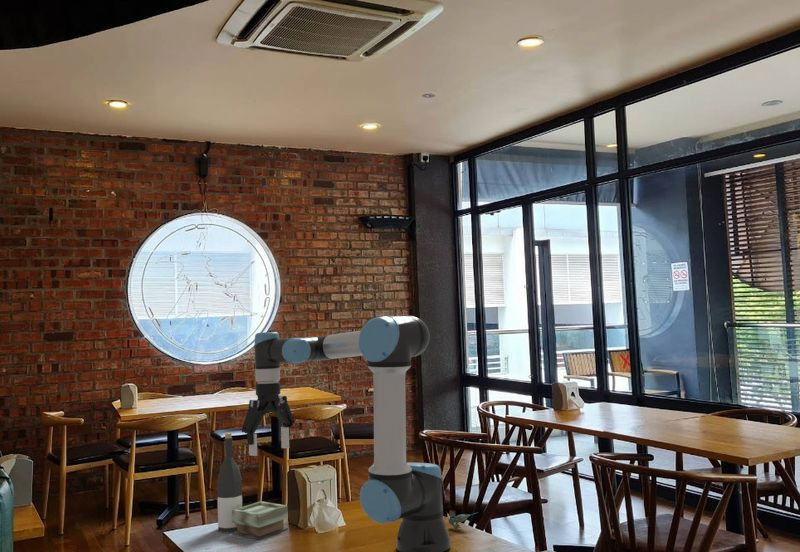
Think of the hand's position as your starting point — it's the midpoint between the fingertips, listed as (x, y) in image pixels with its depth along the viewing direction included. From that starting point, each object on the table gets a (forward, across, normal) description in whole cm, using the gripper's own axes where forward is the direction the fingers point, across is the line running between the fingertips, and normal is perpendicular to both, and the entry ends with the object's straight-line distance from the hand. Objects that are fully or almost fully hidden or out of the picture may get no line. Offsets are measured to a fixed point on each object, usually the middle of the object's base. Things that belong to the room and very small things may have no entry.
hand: (269, 451), depth 226 cm
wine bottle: (+25, +2, -16) cm, 30 cm away
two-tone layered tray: (+25, 0, -5) cm, 25 cm away
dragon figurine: (+21, -36, +50) cm, 66 cm away
